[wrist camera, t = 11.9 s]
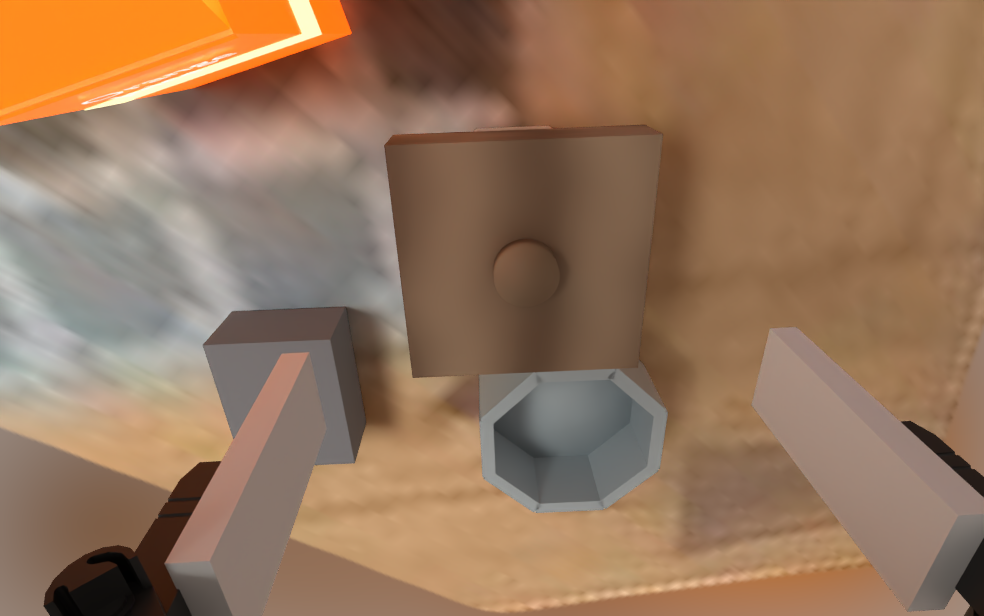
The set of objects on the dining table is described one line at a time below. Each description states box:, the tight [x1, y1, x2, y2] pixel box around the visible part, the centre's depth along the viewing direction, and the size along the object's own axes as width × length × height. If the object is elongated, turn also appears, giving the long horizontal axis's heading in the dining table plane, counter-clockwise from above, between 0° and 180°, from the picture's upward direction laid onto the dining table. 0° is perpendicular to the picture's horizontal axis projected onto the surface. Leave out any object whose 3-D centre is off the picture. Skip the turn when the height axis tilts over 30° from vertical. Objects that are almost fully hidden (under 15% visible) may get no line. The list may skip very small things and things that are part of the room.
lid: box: [384, 125, 663, 378], centre depth 24 cm, size 11×11×4 cm
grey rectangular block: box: [203, 307, 366, 465], centre depth 33 cm, size 7×9×4 cm
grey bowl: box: [479, 360, 668, 513], centre depth 34 cm, size 11×11×5 cm
